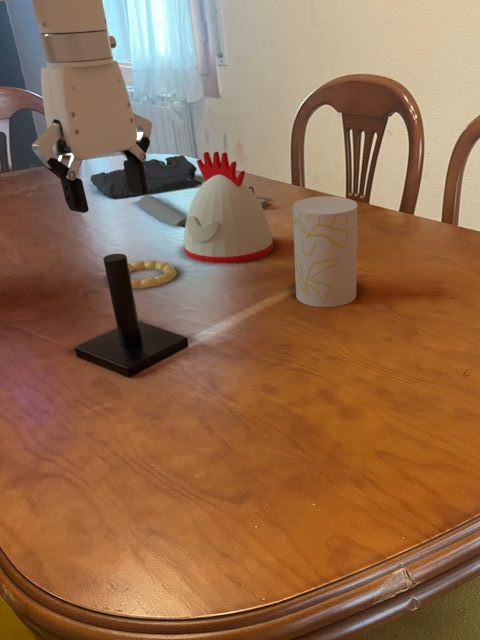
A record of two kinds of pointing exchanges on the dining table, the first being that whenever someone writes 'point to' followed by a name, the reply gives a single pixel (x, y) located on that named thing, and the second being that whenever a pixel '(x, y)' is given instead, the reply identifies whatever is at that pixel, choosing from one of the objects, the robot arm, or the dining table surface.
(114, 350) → the post
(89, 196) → the dining table surface
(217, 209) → the white chicken hat
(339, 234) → the white patterned cylinder
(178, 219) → the gray half cylinder
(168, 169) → the black rough slab
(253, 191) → the strap clip
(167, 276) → the ring
